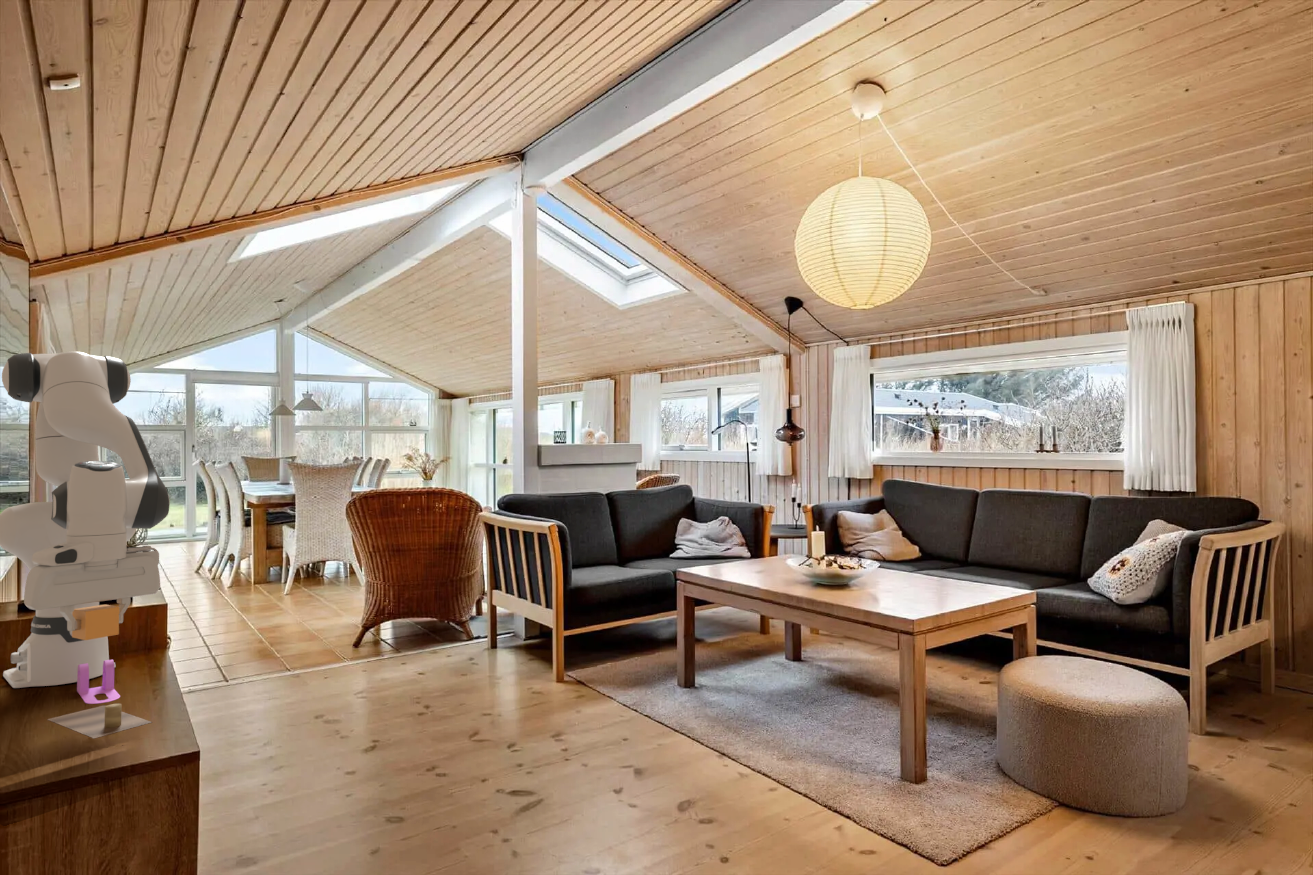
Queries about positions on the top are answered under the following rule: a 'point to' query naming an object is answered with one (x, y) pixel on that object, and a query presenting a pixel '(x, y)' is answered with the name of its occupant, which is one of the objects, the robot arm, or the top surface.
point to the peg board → (100, 721)
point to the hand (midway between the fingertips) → (95, 626)
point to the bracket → (106, 687)
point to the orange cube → (97, 622)
